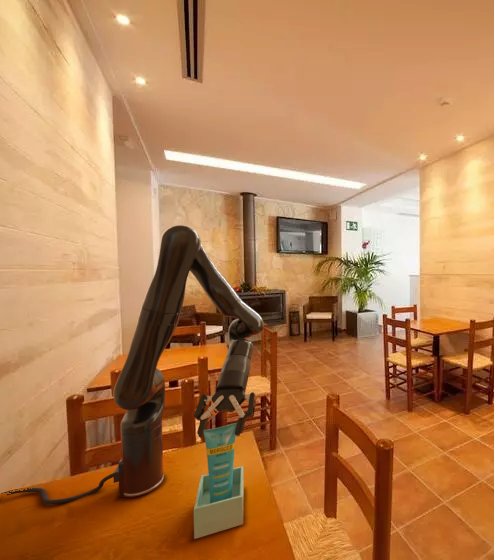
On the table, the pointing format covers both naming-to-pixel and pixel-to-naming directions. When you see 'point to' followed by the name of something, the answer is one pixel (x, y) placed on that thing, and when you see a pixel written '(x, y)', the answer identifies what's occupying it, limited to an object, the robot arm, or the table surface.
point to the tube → (220, 461)
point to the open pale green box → (218, 507)
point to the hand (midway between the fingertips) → (219, 436)
